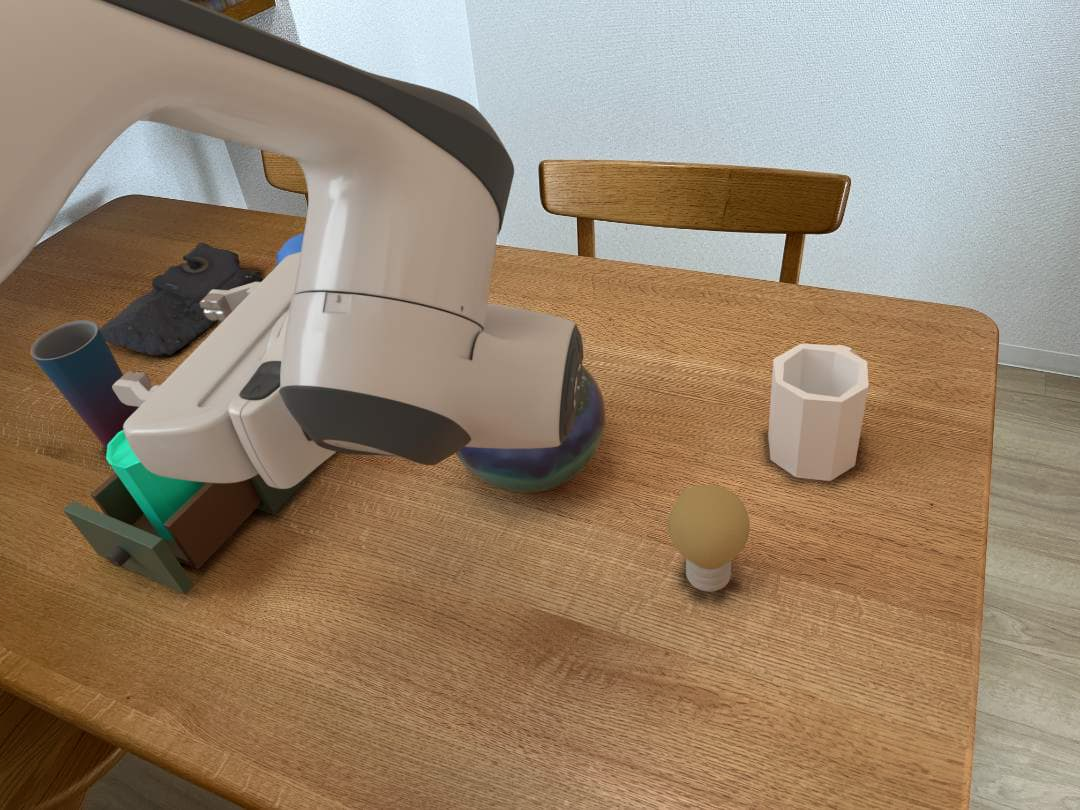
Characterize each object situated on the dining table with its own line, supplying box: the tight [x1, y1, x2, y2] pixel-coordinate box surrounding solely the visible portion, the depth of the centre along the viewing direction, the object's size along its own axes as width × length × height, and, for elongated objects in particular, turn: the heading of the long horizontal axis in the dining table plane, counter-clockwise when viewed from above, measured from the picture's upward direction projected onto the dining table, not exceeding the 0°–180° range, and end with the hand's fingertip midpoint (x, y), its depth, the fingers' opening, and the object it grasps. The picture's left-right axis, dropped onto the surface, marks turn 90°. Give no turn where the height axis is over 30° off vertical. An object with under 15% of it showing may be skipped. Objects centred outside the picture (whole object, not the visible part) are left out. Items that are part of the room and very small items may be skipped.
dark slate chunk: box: [99, 242, 261, 357], centre depth 113 cm, size 15×22×5 cm
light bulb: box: [667, 484, 751, 593], centre depth 66 cm, size 6×6×10 cm
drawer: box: [62, 471, 263, 595], centre depth 79 cm, size 16×12×7 cm
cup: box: [29, 319, 139, 450], centre depth 89 cm, size 7×7×15 cm
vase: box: [455, 364, 607, 494], centre depth 78 cm, size 15×15×13 cm
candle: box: [105, 430, 204, 541], centre depth 76 cm, size 6×6×12 cm
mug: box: [767, 343, 869, 482], centre depth 76 cm, size 12×9×10 cm
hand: (168, 343), depth 56 cm, fingers open, 8 cm apart
